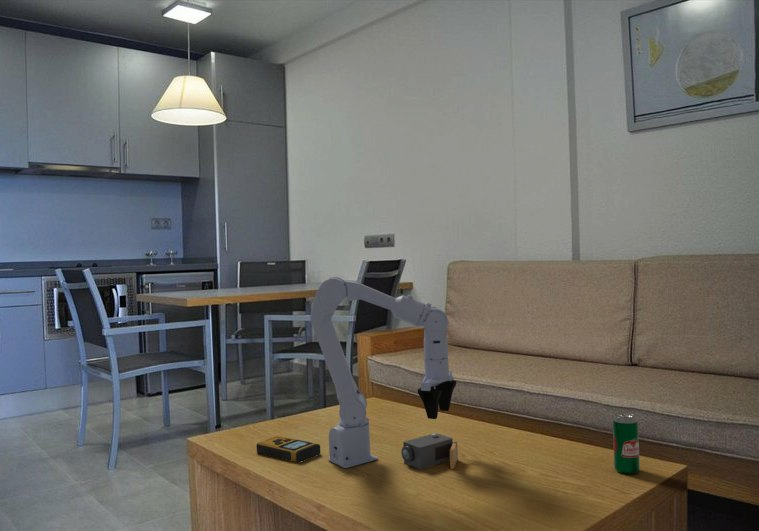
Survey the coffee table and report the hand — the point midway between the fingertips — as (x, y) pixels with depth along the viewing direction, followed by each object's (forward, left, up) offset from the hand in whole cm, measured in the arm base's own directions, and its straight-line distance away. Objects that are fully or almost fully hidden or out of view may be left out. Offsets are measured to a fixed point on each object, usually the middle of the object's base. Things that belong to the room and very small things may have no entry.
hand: (438, 414), depth 148 cm
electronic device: (-27, +28, -10) cm, 40 cm away
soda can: (+22, -35, -10) cm, 43 cm away
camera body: (-5, -1, -10) cm, 11 cm away
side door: (-2, -7, -10) cm, 12 cm away
